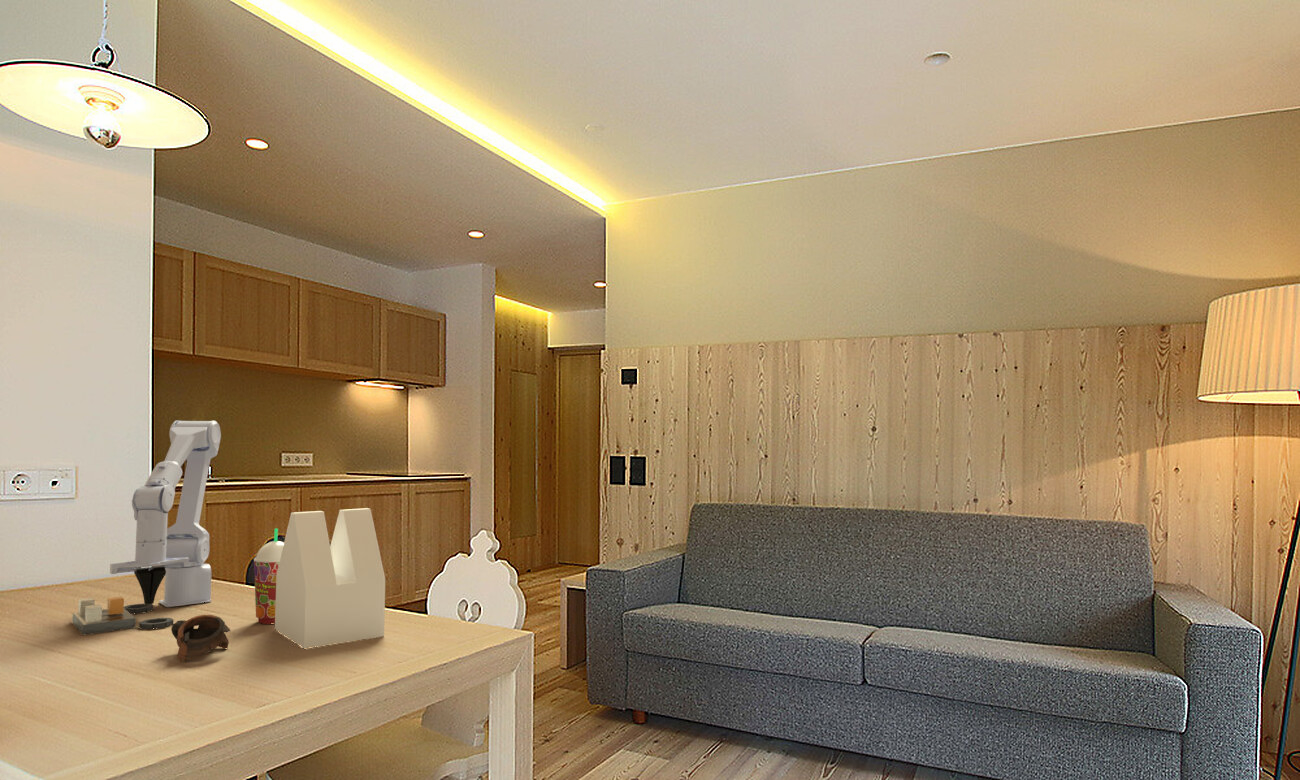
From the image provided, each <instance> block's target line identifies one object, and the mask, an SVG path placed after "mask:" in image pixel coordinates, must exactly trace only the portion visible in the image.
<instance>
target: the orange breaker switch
mask: <svg viewBox="0 0 1300 780" xmlns="http://www.w3.org/2000/svg"><path fill="white" fill-rule="evenodd" d="M124 603H125V598H123V597H122V596H115V597H107V608H106V609H107V613H108V614H109V615H112V614H120V613H123V609H124V606H125V604H124Z"/></svg>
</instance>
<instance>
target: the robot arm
mask: <svg viewBox="0 0 1300 780" xmlns="http://www.w3.org/2000/svg"><path fill="white" fill-rule="evenodd" d="M168 434H169V441H170V446H169V447H168V448H169V449H168V451H167V453H166V455H165V459H164V460H163V461H160V462H158V463H157V464H155V467H154V468H153V470H152V472H151V473H150V475H149V477H148V478H147V480H146V482H145V483H144V485H143V486H140V487H139V488H137V489H136V490H134V493H133V495H132V499H131V506H132V510H133V513H134V514H133V518H134V521H136V532H135V534H136V535H135V558H134V560H132V561H125V562H117V563H110V564H109V573H110V574H111V575H116V574H121V573H133V572H134V575H135V578H136V579H137V581H138V583H139V586H140V589H141V592H142V594H143V595H142V596H143V601H144V602H143V604H153V605H154V603H155V598H156V595H157V591H158V590H159V588H160V585H161V583H162V581H163V580H164V595H163V596H164V597H163V599H159V600H158V602H159V603H160V604H161V605H162V606H164V607H166V608H173V607H180V606H187V605H194V604H195V605H197V604H205V603H210V602H212V599H211V598H212V567H211V565H210V564H209V563H205V562H206V561H207V559H208V558H209V555H210V533H209V532H208V531H207V529H205V528H204V527H203V526H201V525H200V520H201V515H202V509H203V503H204V496H205V491H206V486H207V481H208V474H209V469H210V463H211V459H212V458H214V457H217V455H218V453H219V452H218V451H219V448H220V443H221V438H222V433H221V426H220V424H219V423H218V422H217V421H216V420H210V421H209V420H179V419H178V420H174V421H173V423H172V424H171V425H170V427H169V433H168ZM185 461H186V467H185V471H184V477H183V483H182V487H181V495H180V498H179V505H178V509H177V515H176V519H175V520H176V521H175V523H174V524H172V525H171V526H169V527H168V517H169V511H170V510H171V509H172V508H173V505H174V499H175V495H176V490H175V489H176V487H177V486H178V483H179V482H180V480H181V477H182V476H183V469H182V466H183V464H184V463H185ZM204 602H205V603H204Z"/></svg>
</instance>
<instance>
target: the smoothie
mask: <svg viewBox="0 0 1300 780" xmlns="http://www.w3.org/2000/svg"><path fill="white" fill-rule="evenodd" d="M278 532H279V528H274V532H273V533H274V535H273V541H269V542H268V543H267V542H266V544H264V545H263V546H261V548H259V549H258V551H257V553H256V556H255V557H254V558H253V561H254V562H253V567H254V568H253V569H254V570H253V571H254V600H255V618H256V619H257V620H258V623H259V624H261V623H263V624H262V625H272V624H271V623H275V608H276V576H277V571H278V566H279V562H280V558H281V554H282V549H283V545H284V541H280V540H278V535H279V533H278Z"/></svg>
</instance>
